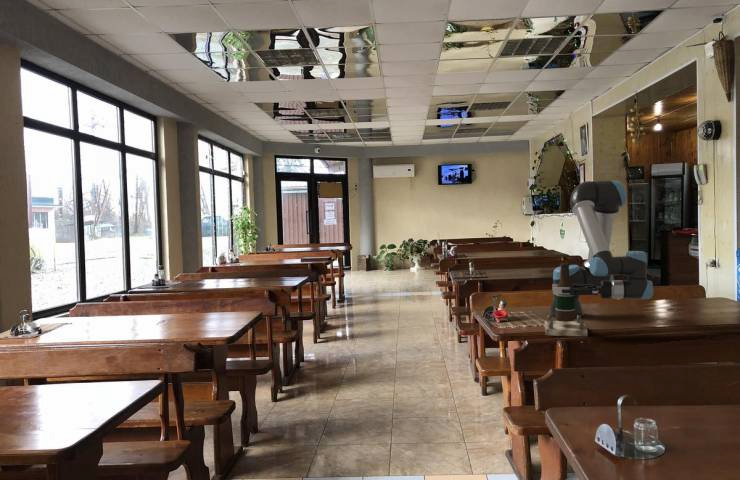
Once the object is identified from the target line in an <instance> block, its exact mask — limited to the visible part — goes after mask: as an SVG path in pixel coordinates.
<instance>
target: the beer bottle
mask: <svg viewBox="0 0 740 480" xmlns="http://www.w3.org/2000/svg"><path fill="white" fill-rule="evenodd" d="M570 265H571V264H570V263H568V262H562V263H560V264H559V267H560V266H561V272H560V282H559V284H558V285H557V287H565V288H570V286H571V287H572V288H574V287H573V285H572V284H571V283H570V276H569V266H570ZM555 310H556V317H555V321H563V322H571V321H574V322H575V320H576V318H575V295H571V294H555Z"/></svg>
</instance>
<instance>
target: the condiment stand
mask: <svg viewBox="0 0 740 480" xmlns="http://www.w3.org/2000/svg"><path fill="white" fill-rule="evenodd" d="M544 331H545V335H546V336H557V337H559V336H562V337H588V329H587V326H586V324H585V323H584V321H582V317H581V316H580V315H577V318H576V321H575V320H574V321H571V322H563V321H558V320H553V319H552V316H551V315H550V314H547V320H544Z"/></svg>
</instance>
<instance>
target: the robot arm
mask: <svg viewBox="0 0 740 480" xmlns="http://www.w3.org/2000/svg"><path fill="white" fill-rule="evenodd" d="M625 188H626V187H625V186H624V184H623V183H622V182H621V181H619V180H610V179H609V180H594V181H592V180H591V181H590V180H587V181H584V182H581V183H579V184H578V185H577V186H576V187H575V188H573V191H571V195H570V201H569V205H570V208H571V211H572V213H573V215H576V217H577V220H578V223H579V226H580V228H581V231H582V234H583V236H584V237H583V238H585V241H586V244H587V248H588V255H587V260H585V261H584V262H583V265H582V266H583V267H580V266H579V265H577V264H569V265H570V266H569V276H570V283H571V284H572V285H573V287H574V288H572V287H571V286H570V288H565V287H557V285H558V284H559V282H560V272H561V266H560V265H559V266H558V267H556V268H554V269H553V274H552V275H553V276H552V280H553V281H552V282H553V283H552V284H551V286H552V287H551V291H552V294H553V299H552V301H551V305H550V308H549V315H551V317H555V318H556V310H555V294H571V295H575V319H577V315H580V316H581V318H582V317H584V309H583V306H582V304H581V300H580V296H598V295H599V296H600V299H602V300H606V299H607V300H610V299H611V298H612V299H613V300H614V299H615V300H617V301H620V300H624V299H625V300H647V299H649V300H650V299H652V297H653V295H654V285H653V283H654V282H653V281H652V280H650V279H649V280H648V278H647V274H648V273H647V272H648V271H647V270H648V258H647V257H648V256H647V253H646V252H645V251H643V250H642V251H641V250H629V251H626V254H625V255H623V256H613V253H612V251H611V249H610V246H611V240H612V239H611V238H612V233H613V227H614V226H613V225H614V220H615V219H614V218H615V215H616V214H618V213H619V211H620V207H623V206H625V205H626V203H627V191H626V189H625ZM615 276H626V278H625V280H622V279H621V280H619V279H617V280H615V278H614V277H615Z"/></svg>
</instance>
